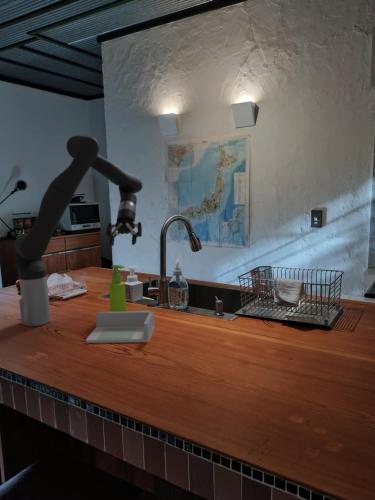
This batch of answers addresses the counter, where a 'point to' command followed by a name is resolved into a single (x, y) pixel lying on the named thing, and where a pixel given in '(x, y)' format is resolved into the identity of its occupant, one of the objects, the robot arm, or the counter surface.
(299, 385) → the counter surface
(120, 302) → the soap dispenser
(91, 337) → the grey corner tray
